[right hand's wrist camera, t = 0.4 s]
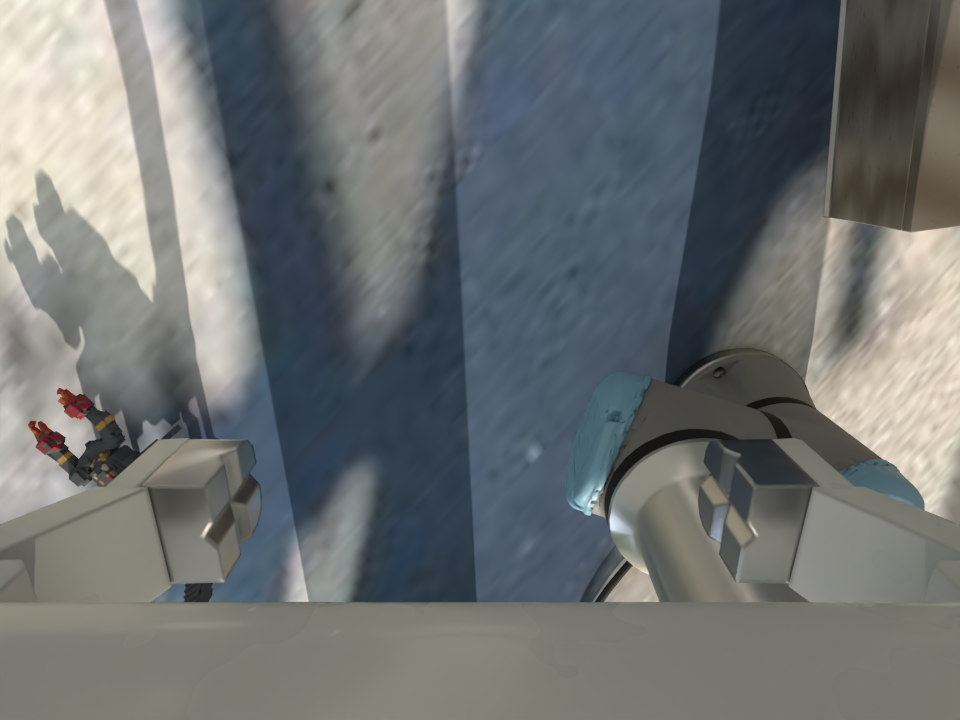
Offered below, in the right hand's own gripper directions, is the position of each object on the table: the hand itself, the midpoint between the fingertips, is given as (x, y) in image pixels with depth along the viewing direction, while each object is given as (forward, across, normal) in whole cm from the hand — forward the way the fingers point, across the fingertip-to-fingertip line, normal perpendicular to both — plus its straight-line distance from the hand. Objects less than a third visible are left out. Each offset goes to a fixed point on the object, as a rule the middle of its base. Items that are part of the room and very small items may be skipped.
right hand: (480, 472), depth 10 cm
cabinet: (+48, -37, -11) cm, 61 cm away
